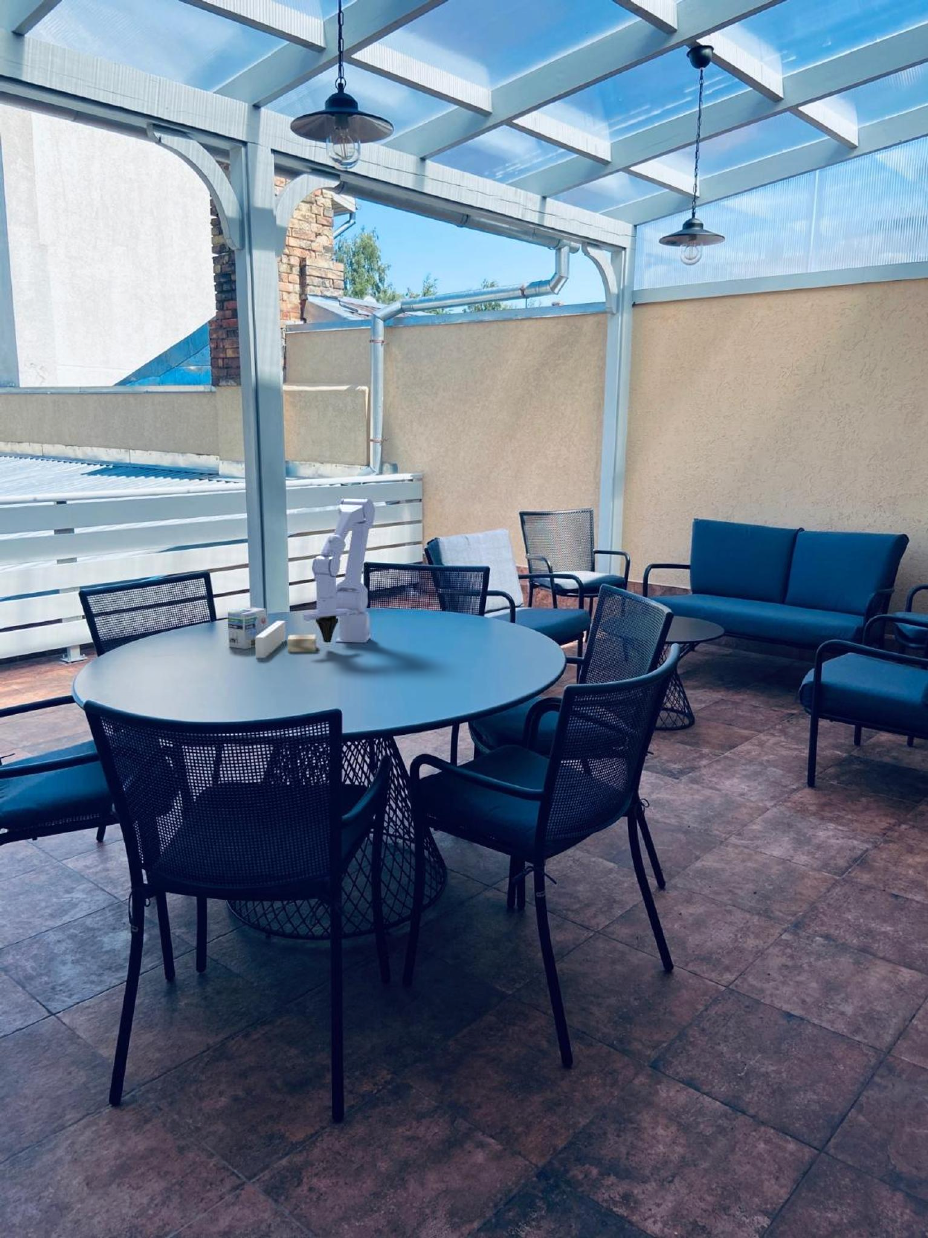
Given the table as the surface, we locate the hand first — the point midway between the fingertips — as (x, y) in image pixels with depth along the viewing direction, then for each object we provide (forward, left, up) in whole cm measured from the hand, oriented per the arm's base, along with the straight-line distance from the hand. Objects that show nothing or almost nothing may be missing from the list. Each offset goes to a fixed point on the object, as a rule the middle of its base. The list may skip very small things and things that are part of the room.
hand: (327, 641), depth 266 cm
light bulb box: (+25, -4, -3) cm, 26 cm away
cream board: (+17, 0, -2) cm, 17 cm away
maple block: (+8, 0, -3) cm, 8 cm away
